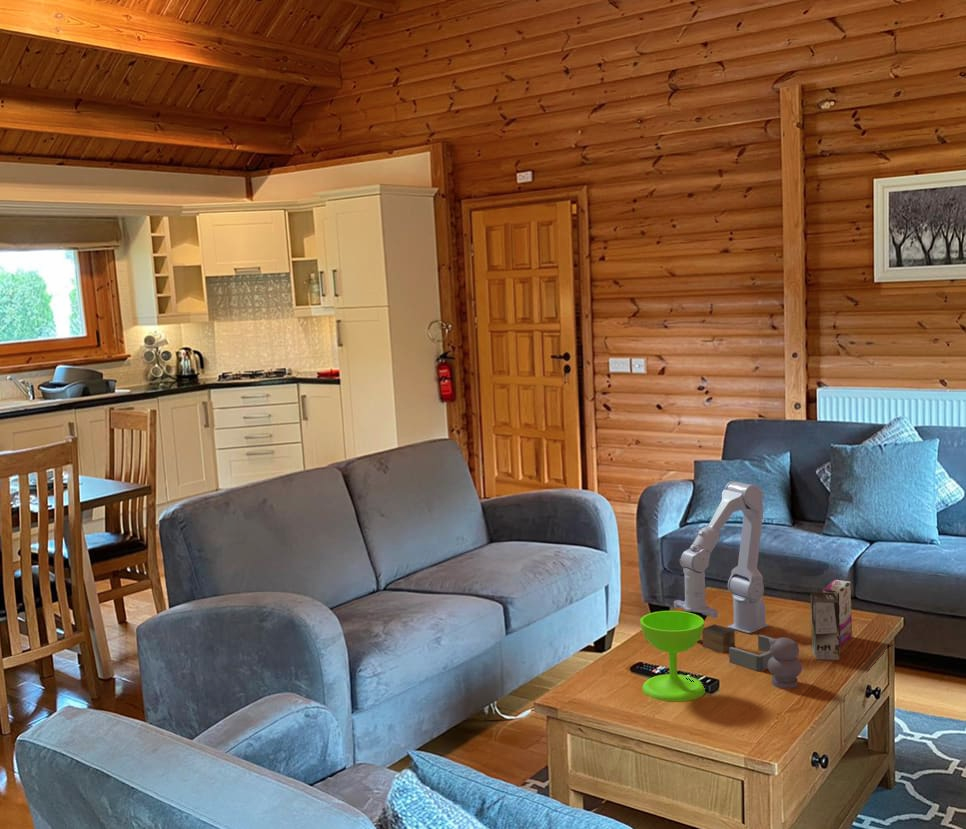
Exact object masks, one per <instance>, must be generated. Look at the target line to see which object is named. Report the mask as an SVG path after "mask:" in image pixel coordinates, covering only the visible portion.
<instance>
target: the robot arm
mask: <svg viewBox="0 0 966 829" xmlns="http://www.w3.org/2000/svg"><path fill="white" fill-rule="evenodd" d="M763 498H764V492H763V491H762V490H761V488H760V487H759V486H758V485H755V484H749V483H744V482H740V481H739V482H738V481H737V480H731V481H729V482H727V483H726V485H725V487H724V489H723V490H722V492H721V501H720V503H719V505H718V506H717V508H716V510H715V512H714V515H713V516H712V518H711V519H710V521H709V524H708V526H705V527H702V528H701V529H700V530H699V531H698V533H697V536H696V537H695V539H694V540H693V542H692V544H691V545H690V547H689V548H687V549H686V550H684V551H683V552H682V554H681V556H680V559H679V560H678V561H679V564H680V566H681V567H682V569H683V570H682V572H683V574H684V576H683V577H684V600H679V599H676V600H674V601H673V608H675V609H681V610H684V611H683V612H688V613H692V614H696V615H698V616H700V617H701V618H703V620H704V622H705V621H706V619H707V617H710V618H711V619H715V618H718V617H719V613H718V610H717V609H715V608H712V607H710V606H708V605H706V583H705V582H706V581H705V580H706V577H705V576H706V572H705V570H706V569H708V567H709V565H710V558H711V554H712V551H713V550H714V549H715V547H716V545H717V543H718V542H719V540H720V534H719V532H720V531H721V530H722V529H723V527H724V526H725V525H726V523H727V522H728V520H729V518H730V517H731V516H732V515H733V513H735V512H738V511H741V512H742V513H743V518H742V525H741V526H742V527H741V536H740V546H739V551H738V553H739V554H738V560H737V561H738V563H737V566H735V567H734V568H733V569H731V573H730V577H729V578H728V581H727V589H728V592H729V593H731V598H733V623H732V624H730V625H727V628H730V629H734V630H735V631H738V632H739V631H740V632H742V633H747V634H752V633H754V632H756V631H760V630H762V629H765V628H766V627H768V626H769V624H768V623H766V618H767V617H766V603H765V601H764V599H763V598H762V597H763V595H764V593H765V592H764V591H765V587H764V582H763V581H764V577H763V575H762V573H761V572H760V571H759V569H758V561H759V553H760V545H761V544H760V543H761V534H762V529H763V528H762V526H763V518H764V517H763V516H764V504H763Z"/></svg>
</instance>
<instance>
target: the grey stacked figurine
mask: <svg viewBox="0 0 966 829" xmlns="http://www.w3.org/2000/svg"><path fill="white" fill-rule="evenodd" d="M772 638H773V637H771V638H768V639H769V642H770V645H771V646H770V652H771V654H772V657H771V658H770V659H769V661H768V669H767V670H768V671H769V673H770V674H771V675H772V677H771V685H772V686H773V687H776V688H778V689H783V690H784V689H785V690H788V689H794V688H797V687H798V678H797V677H798V676H800V675H801V673H802V671H803V663H802V662H801V660H800V659H799V658H798V657H799V653H800V647H799V642H797V641H794V639H791V638H789V637H779V638H778V637H777V638H775V639H772Z"/></svg>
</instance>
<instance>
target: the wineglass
mask: <svg viewBox="0 0 966 829" xmlns="http://www.w3.org/2000/svg"><path fill="white" fill-rule="evenodd" d="M639 619H640V620H639V622H640V628H641V632H642V633H643V636H644V638H645V639H646V641H647V642H649V644H650V645H651V646H652V647H654V648H655V649H656V650H658V651H660V652H664V653H667V654H668V664H669V665H668V666H669V673H666V674H658V675H655V676H653V677H650V678H648V679H646V681H645V682H644V683H643V685H642V687H641V688H642V689H641V690H642V692H643V693H644V694H645V695H646V696H648V697H650V698H652V699H655V700H657V701H664V702H673V703H674V702H677V703H678V702H679V703H681V702H682V703H683V702H688V701H693V700H696V699H699V698H701V697H703V696H704V695H705V694H706V691H705V689H706V687H705V688H704V686H705V685H704V686H703V684H704V683H703V682H702V681H700V680H699V679H697V678H696V677H693V676H689V675H685V674H680V673H679V674H678V662H677V661H678V660H677V659H678V653H684V652H687V651H688V650H689V649H691V648H693V647H695V645H696V644H697V642H699V640H700V638H701V637H702V632H703V629H704V628H705V626H704V625H705V621H704V620H703V618H701V617H700V616H698V615H696V614H692V613H688V612H686V611H680V610H661V611H654V612H651V613H647V614H644V615H643V616H642V617H641V618H639ZM686 678H687V679H688V678H689V679H690V680H691V681H692V680H693V681H694V682H693V681H692V682H691V681H690V680H689V679H688V680H687V679H686ZM702 683H703V684H702Z"/></svg>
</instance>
